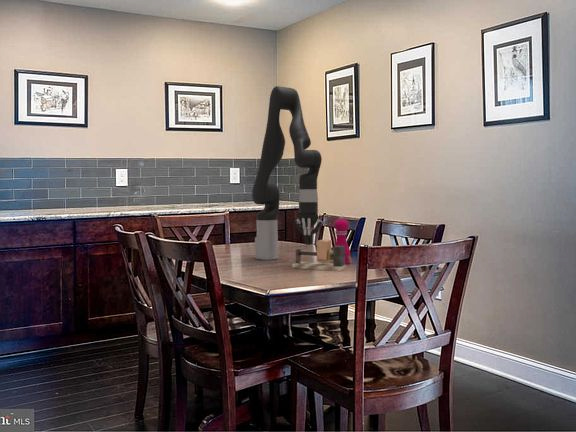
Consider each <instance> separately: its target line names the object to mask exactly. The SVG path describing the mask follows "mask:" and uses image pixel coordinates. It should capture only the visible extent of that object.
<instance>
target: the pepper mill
mask: <svg viewBox="0 0 576 432" xmlns="http://www.w3.org/2000/svg"><path fill="white" fill-rule="evenodd" d="M333 228H334V230H335V231H334V233H335V234H334V235H336V241H335V244H334V246H345V265H348V264H350V258H349V257H350V255H351V250H350V247H349V245H348V243H347V234H348V228H349V221H348V220H346V219H345V218H344V215H342V214H340V215H339V216H338V219H336V220H335V221H334V224H333Z"/></svg>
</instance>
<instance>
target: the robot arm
mask: <svg viewBox="0 0 576 432" xmlns="http://www.w3.org/2000/svg"><path fill="white" fill-rule="evenodd" d="M269 96H270V97H269V104H268V111H267V112H268V113H267V114H268V115H267V120H266V121H267V123H266V128H265V133H264V137H263V138H264V139H263V142H262V148H261V153H260V160H259V165H258V168H257V173H256V177H255V181H254V183H253V187H252V191H251V197H252V201H253V203H254V204H255V205H260V206H261V205H262V206H263V205H264V207H263V209H262V210H261V211H259V212H258V213H257V214H256V216H255V217H256V236H255V237H254V252H255V253H254V255H255V256H254V258H255V259H256V260H266V261H270V260H276V259H279V251H278V249H279V247H278V246H279V245H278V243H279V242H278V241H279V240H278V238H279V237H278V236H279V234H278V232H279V230H278V229H279V228H278V215H279V213H280V190H279V186H278V185H277V184H276V183H272V182H271V183H269V180H270V177H271V175H272V173H273V171H274V170H275V168H276V167H277V166H278V165H279V163H280V162H281V160H282V158H283V155H284V151H285V146H286V138H285V134H284V132H283V129H282V126H281V123H280V114H281V110H283V111H289V112H290V114H291V121H290V124H289V128H288V131H289V137H290V139H291V143H292V145H293V152H294V153H293V154H294V163H295V164H296V167H298V168H302V169H308V172H307V173H303V174H300V176H299V179H298V182H299V184H298V185H299V186H298V187H299V190H298V216H297V219H295V220H293V221H292V222H293V225H294V226H295V227H296V229H297V231H298V232H299V233H300V234H302V235H303V236H304V239H303V240H304V244H305V246H311V245H312V243H313V235H315V234H317V233H318V231H320V229H321V228H322V226H323V225H324V223H325V222H324V220H321V219H320V217H319V214H318V213H319V197H318V196H319V195H318V177H319V172H320V168H321V166H322V154H321V152H320V151H319V150H317V149H308V148H310V146H311V145H312V144H311V143H312V141H311V138H310V135H309V133H308V130H307V127H306V125H305V119H304V116H303V111H302V110H303V109H302V104H301V101H300V100H301V99H300V95H299V93H298V91H297V89H295V88H292V87H286V86H279V85H277V86H274V87H273V88H272V90H271V92H270V95H269Z"/></svg>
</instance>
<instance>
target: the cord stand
mask: <svg viewBox="0 0 576 432" xmlns="http://www.w3.org/2000/svg"><path fill="white" fill-rule="evenodd" d="M332 247H333V249H331V250H329V251H328V259H330V261H332V260H333V261H332V262H333V263H325V262H312V261H311V262H310V261H302V260H301V258H302V257H301V256H310V257H311V256H314V257H317V251H301V250H302V249H301V248H296V249H295V263H292V267H291V268H292V269H302V270H303V269H305V270H319V271H332V272H340V271H343V270H346V269H347V264H345V246H335V245H334V246H332Z"/></svg>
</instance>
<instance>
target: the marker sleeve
mask: <svg viewBox="0 0 576 432" xmlns="http://www.w3.org/2000/svg"><path fill="white" fill-rule="evenodd" d="M329 250H332V239H319V240H316V252H317V256H316V261H317V262H329V261H331V260H330V259H328V251H329Z"/></svg>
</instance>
